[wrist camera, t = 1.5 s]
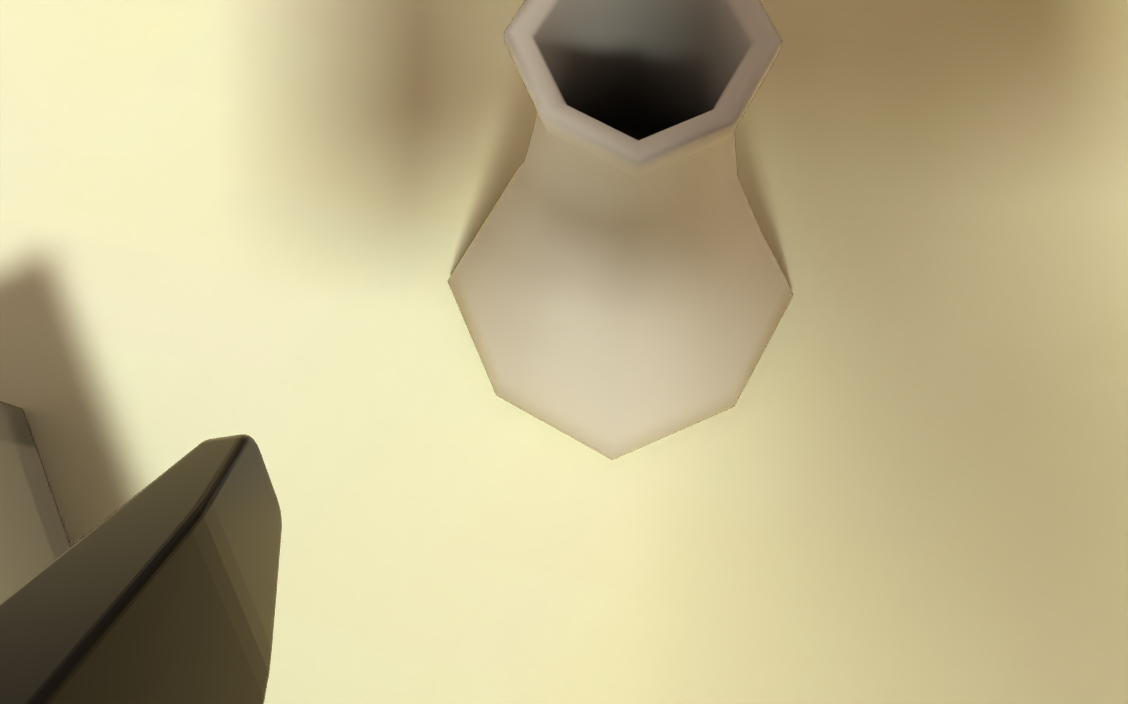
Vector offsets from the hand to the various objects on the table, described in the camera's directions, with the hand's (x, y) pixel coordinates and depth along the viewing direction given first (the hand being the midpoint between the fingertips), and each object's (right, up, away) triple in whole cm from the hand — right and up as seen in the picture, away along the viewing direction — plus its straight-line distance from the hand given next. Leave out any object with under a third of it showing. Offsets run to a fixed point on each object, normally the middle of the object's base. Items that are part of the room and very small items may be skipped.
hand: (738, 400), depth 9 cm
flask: (0, +2, +12) cm, 13 cm away
